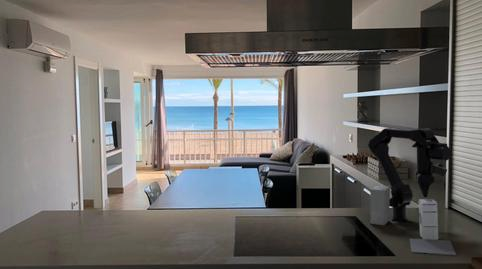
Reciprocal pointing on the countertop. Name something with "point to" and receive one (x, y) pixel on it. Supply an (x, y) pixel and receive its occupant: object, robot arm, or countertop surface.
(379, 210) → the skincare box
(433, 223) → the syrup box
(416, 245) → the light grey square plate
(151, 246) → the countertop surface
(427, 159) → the robot arm
